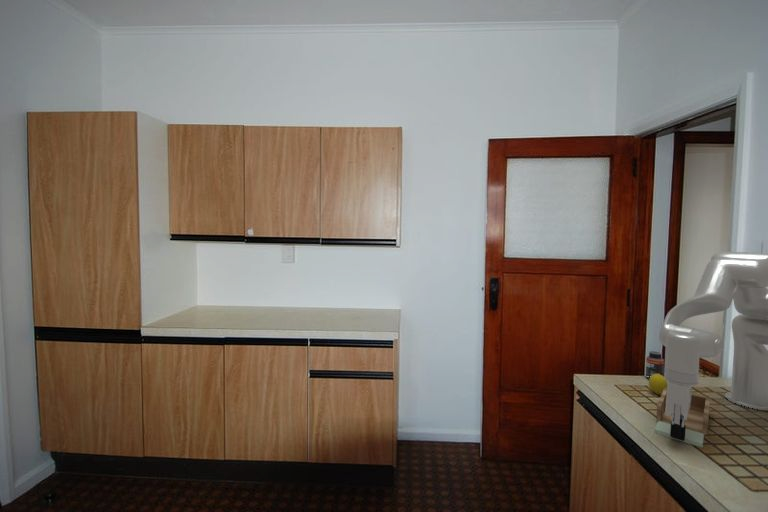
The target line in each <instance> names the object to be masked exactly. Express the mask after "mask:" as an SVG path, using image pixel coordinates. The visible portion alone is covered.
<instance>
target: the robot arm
mask: <svg viewBox="0 0 768 512" xmlns="http://www.w3.org/2000/svg"><path fill="white" fill-rule="evenodd" d="M732 301H733V302H732ZM732 303H733V306H734V309H735V310H736V312H737V313H739V315H737V316H735V317H734V318H733V319H732V321H731V330H732V335H733V336H732V337H733V355H732V357H733V359H732V360H733V361H732V374H731V376H732V377H731V386H730V387H731V390H730V391H727V392H726V393H725V394H724V398H725V399H726V398H727V399H728V401H729V402H730V403H733V404H735V403H736V405H738V406H741V405H742V406H741V407H744V406H745V407H744V408H748V407H749V409H752V408H753V409H752V410H757V409H758V410H759V411H768V349H767V347H766V345H767V346H768V252H765V253H763V252H746V251H745V252H743V251H742V252H740V251H718V252H716V253H713V254H712V256H711V259H710V261H709V262H708V263H707V265H706V266H705V268H704V270H703V274H702V276H701V277H700V280H699V283H698V285H697V288H696V289H695V293H694V295H693V296H691V297H690V298H687V299H685V300H682V301H681V302H680V303H678V304H676V305H674V307H672V308H671V309H670V310H669V311H668V312H667V314H666V315H665V318H664V320H663V322H662V324H661V327H660V330H659V334H658V335H659V336H658V338H659V342H660V344H661V345H662V346H664V347H665V351H664V352H665V353H664V378H665V379H666V381H667V396H666V409H665V414H666V415H667V416H668V415H669V416H670V415H671V414H672V422H671V431H670V436H671V437H672V438H671V439H673V438H675V439H674V440H676V439H679V440H682V441H681V442H683V441H684V440H685V430H686V425H685V420H687V417H688V414H689V410H690V405H691V396H692V394H693V387H696V386H698V385H699V373H700V372H699V371H700V358H704V359H707V358H714V357H717V356H718V355H719V354H720V353H721V352H722V351H723V348H724V341H723V339H722V338H721V336H719V335H718V334H717V333H715V332H714V331H708V330H704V329H698V328H694V327H689V326H684V325H681V324H682V323H683V322H684V321H686V320H687V319H690V318H693V317H697V316H702V315H707V314H714V313H719V312H723V311H726V310H728V309H729V308H730V307H731V305H732ZM727 399H726V400H727ZM679 440H678V441H679Z"/></svg>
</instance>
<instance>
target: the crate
mask: <svg viewBox="0 0 768 512" xmlns="http://www.w3.org/2000/svg"><path fill="white" fill-rule="evenodd" d="M666 396H667V388H664V390H663V392H662V393H661V395H660V398H659V399H658V402H657V404H656V420H655V421H656V422H657V423H658V421H661V422H665V423H668V424H671V422H672V414H671V415H670V416H669V415H668V416H667V415H666V414H665V409H666ZM710 405H711V398H710V397H708V396H707V397H706V396H702V395H699V394H693V393H692V396H691V405H690V410H689V414H688V417H687V420H685V425H686V429H689V430H692V431H696V432H699V433H703V434H704V436H706V437H707V436H708V427H709V418H710Z"/></svg>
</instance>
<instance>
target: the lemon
mask: <svg viewBox="0 0 768 512" xmlns="http://www.w3.org/2000/svg"><path fill="white" fill-rule="evenodd" d="M648 386H649V388H650V390H651V391H652V392H654V393H655V394H656V395H660V394H662V392H663V390H664V388H667V386H668V380H666V379H665V378H664V377H663V376H662V375H660V374H658V373H657V374H654V375H652V376H651V377H650V379H648Z"/></svg>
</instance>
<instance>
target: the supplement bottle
mask: <svg viewBox="0 0 768 512" xmlns="http://www.w3.org/2000/svg"><path fill="white" fill-rule="evenodd" d="M645 361H646V362H645V363H646V365H645V378H646V379H647V380H649V379H650V376H652V375H654V374H657V373H658V374H660V375H662V376H663V377H664V368H665V359H664V358H662V353H661V352H659V351H653V350H652V351H651V350H650V351H649V355H648V356H647V357H646V359H645ZM646 376H649V377H646Z"/></svg>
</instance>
